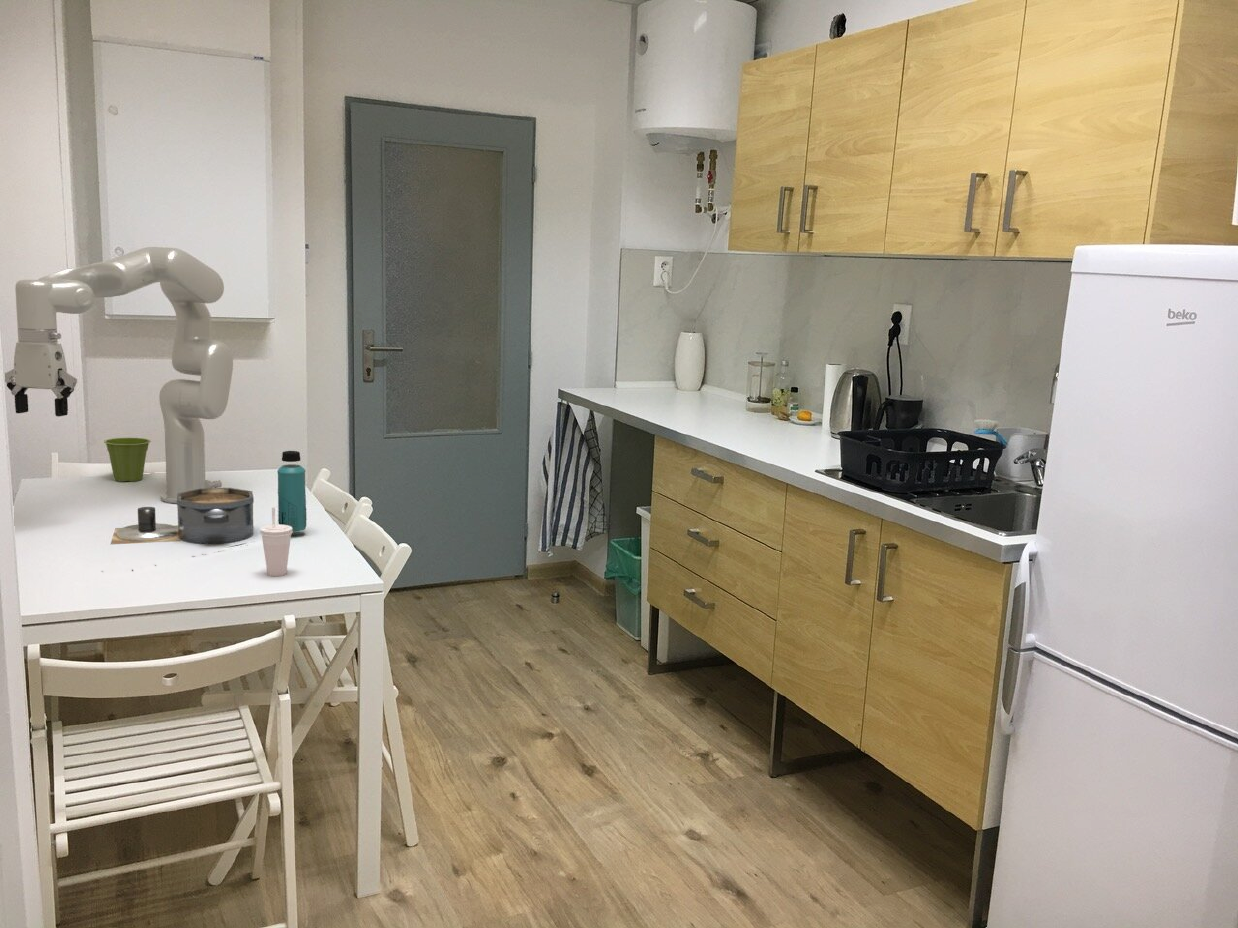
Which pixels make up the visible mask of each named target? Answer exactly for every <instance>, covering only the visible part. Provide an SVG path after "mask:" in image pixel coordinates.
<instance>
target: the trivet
mask: <svg viewBox="0 0 1238 928" xmlns="http://www.w3.org/2000/svg"><path fill="white" fill-rule="evenodd" d="M174 526H175V527H177V534H176V535H175V536H173V537H171V538H167V539H163V540H157V541H144V542H136V541H126V540H121V539H119V538H118V537H117V530H119V529H120V528H121V527H115V529H114V532H113V535H112V538H111V541H110V545H123V544H145V543H165V542H168V543H169V542H181V541H182V540H180V539H179V537H178V525H174Z"/></svg>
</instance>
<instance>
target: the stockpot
mask: <svg viewBox="0 0 1238 928" xmlns="http://www.w3.org/2000/svg"><path fill="white" fill-rule="evenodd" d="M254 498H255V497H254V494H253V490H245V489H240V488H234V487H218V488H203V489H196V490H191V491H187V492H183V493H178V494H177V503H176V508H177V526H178V537H179V539H180V540H181V541H182V542H184V543H189V544H193V545H194V544H195V545H223V544H232V543H238V542H241V541H245V540H248V539H250V538H252V537H253V536H254V501H255V500H254ZM244 544H245V545H246V544H247V542H245V543H241V544H235V545H231V546H230V548H232V547H233V548H234V547H238V546H242V545H244Z"/></svg>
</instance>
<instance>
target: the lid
mask: <svg viewBox="0 0 1238 928" xmlns="http://www.w3.org/2000/svg"><path fill="white" fill-rule="evenodd" d="M175 526H176V525H172V524H169V523H168V524H167V523H157V522H156V508H155V506H142V507H138V508H137V524H131V525H127V526H124V527H123V526H122V527H119V528H120V529H119V530H117V537H118V538H119V539H121V540H126V541H136V542H144V541H157V540H163V539H167V538H171V537H173V536H175V535H176V534H177V527H175Z"/></svg>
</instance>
